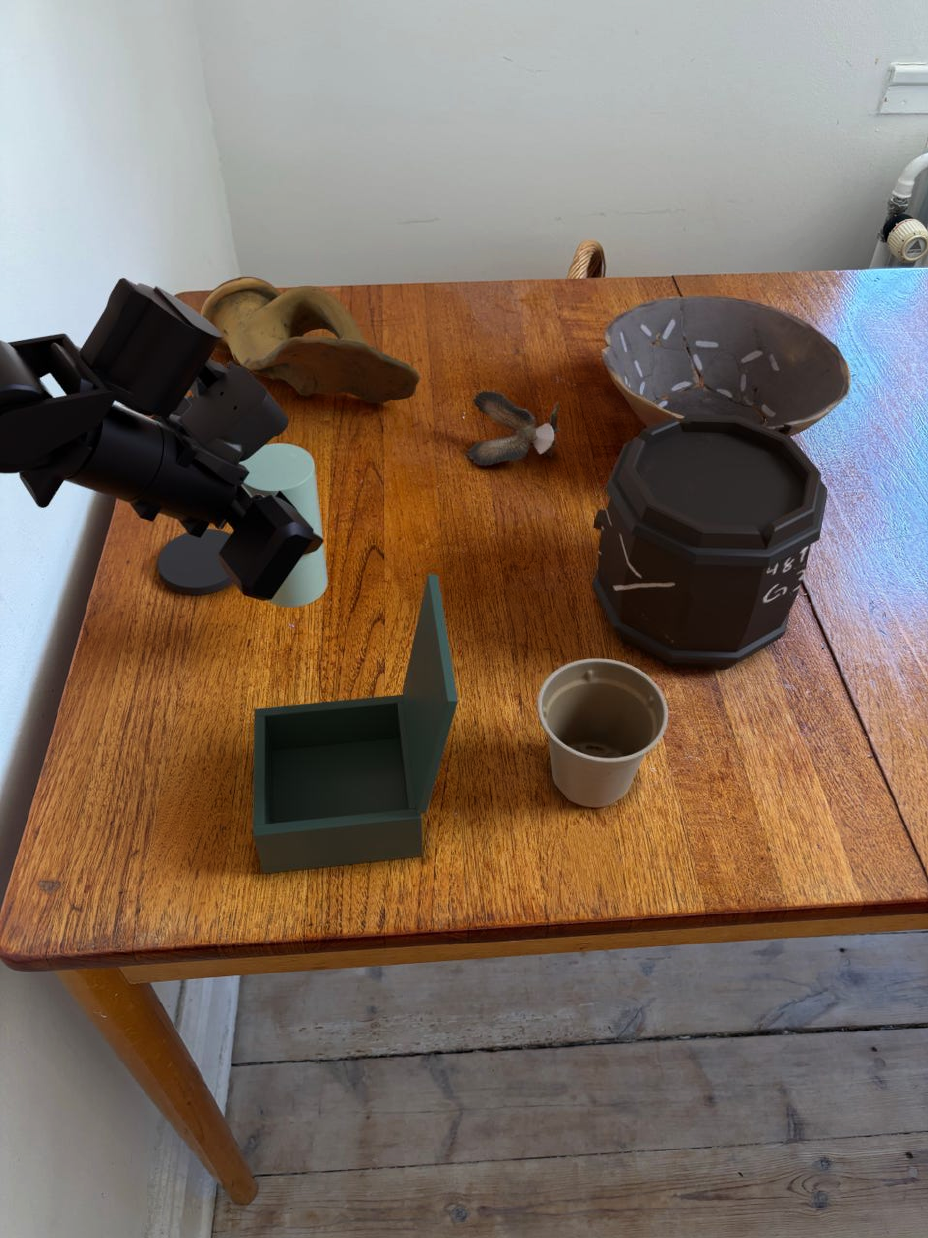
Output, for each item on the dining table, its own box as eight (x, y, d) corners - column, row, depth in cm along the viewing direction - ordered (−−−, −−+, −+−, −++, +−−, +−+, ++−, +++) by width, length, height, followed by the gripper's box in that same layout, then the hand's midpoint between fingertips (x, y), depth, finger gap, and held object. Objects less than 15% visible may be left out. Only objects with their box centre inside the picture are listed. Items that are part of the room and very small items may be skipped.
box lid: (447, 701, 61) (458, 701, 61) (427, 573, 68) (437, 574, 69) (416, 814, 70) (426, 814, 70) (402, 690, 77) (411, 690, 77)
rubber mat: (167, 604, 91) (164, 596, 90) (153, 547, 96) (151, 539, 96) (254, 583, 93) (252, 575, 92) (236, 528, 98) (235, 520, 98)
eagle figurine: (550, 415, 110) (469, 402, 108) (568, 390, 103) (481, 376, 101) (544, 482, 108) (462, 470, 107) (563, 461, 101) (475, 448, 100)
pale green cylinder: (290, 618, 80) (271, 501, 71) (244, 584, 82) (221, 467, 73) (342, 582, 83) (330, 465, 74) (296, 550, 85) (279, 433, 76)
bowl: (861, 497, 102) (893, 415, 95) (626, 520, 100) (640, 437, 92) (772, 361, 119) (793, 283, 112) (568, 377, 117) (577, 298, 109)
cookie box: (263, 874, 73) (252, 835, 69) (263, 749, 80) (254, 708, 76) (423, 856, 74) (421, 817, 70) (408, 735, 81) (406, 693, 78)
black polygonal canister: (611, 520, 100) (633, 384, 88) (795, 564, 96) (843, 428, 84) (560, 647, 88) (577, 510, 77) (768, 704, 84) (818, 568, 73)
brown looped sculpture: (235, 412, 99) (168, 278, 109) (282, 485, 110) (217, 357, 121) (401, 323, 100) (318, 199, 110) (431, 405, 111) (353, 285, 122)
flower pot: (550, 839, 75) (559, 772, 69) (516, 739, 81) (522, 669, 75) (668, 814, 77) (688, 747, 70) (626, 718, 83) (641, 648, 77)
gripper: (268, 429, 59) (427, 505, 72) (142, 295, 70) (300, 382, 82) (169, 578, 62) (339, 626, 74) (61, 427, 72) (226, 492, 85)
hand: (301, 523), depth 79 cm, fingers closed on pale green cylinder, 5 cm apart
